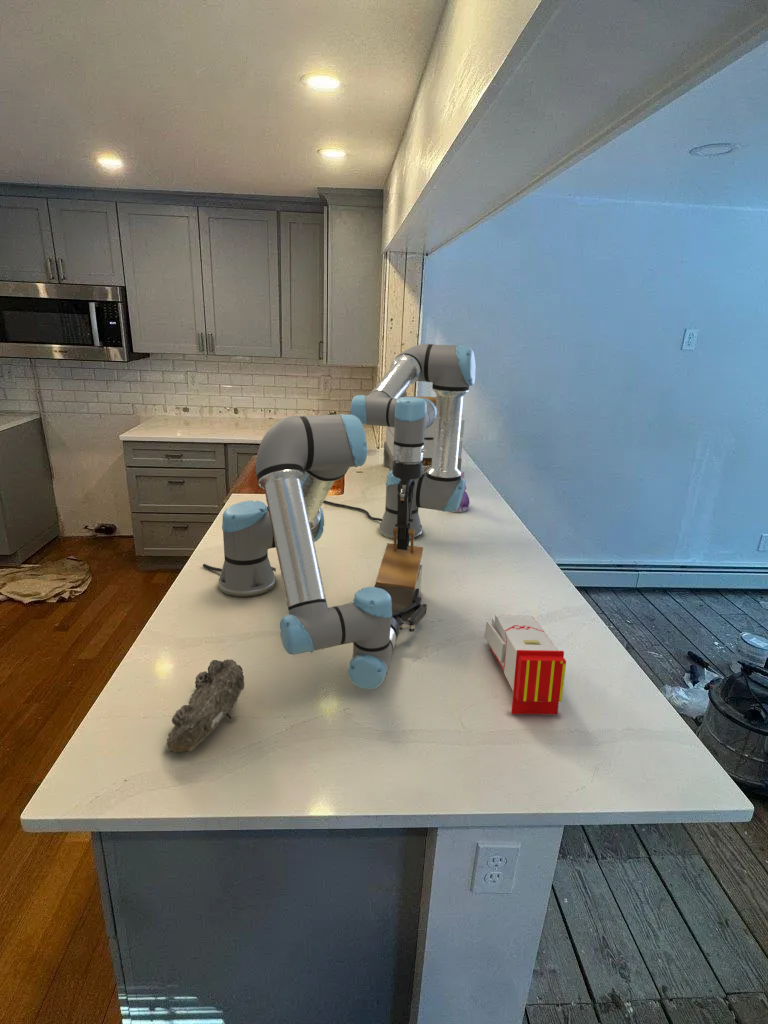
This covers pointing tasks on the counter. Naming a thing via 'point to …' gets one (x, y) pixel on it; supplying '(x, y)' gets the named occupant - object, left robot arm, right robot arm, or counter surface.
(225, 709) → the fossil
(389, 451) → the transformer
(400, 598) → the chest
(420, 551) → the lid
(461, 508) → the figurine
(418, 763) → the counter surface
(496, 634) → the toy
